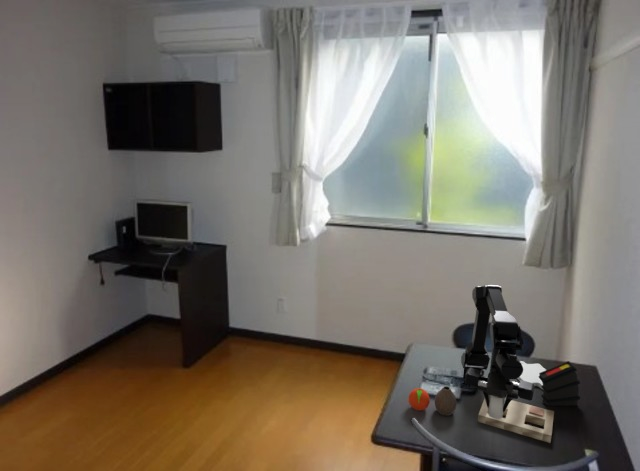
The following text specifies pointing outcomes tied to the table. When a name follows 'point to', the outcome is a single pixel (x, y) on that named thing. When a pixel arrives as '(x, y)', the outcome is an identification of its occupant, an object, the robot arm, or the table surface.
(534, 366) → the mounting plate
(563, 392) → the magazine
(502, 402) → the plug
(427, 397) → the clementine
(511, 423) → the socket board
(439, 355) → the table surface
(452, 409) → the vase
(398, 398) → the table surface
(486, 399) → the robot arm
